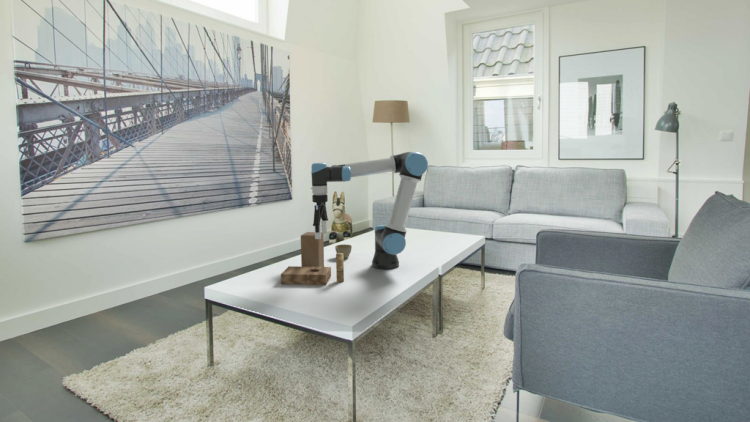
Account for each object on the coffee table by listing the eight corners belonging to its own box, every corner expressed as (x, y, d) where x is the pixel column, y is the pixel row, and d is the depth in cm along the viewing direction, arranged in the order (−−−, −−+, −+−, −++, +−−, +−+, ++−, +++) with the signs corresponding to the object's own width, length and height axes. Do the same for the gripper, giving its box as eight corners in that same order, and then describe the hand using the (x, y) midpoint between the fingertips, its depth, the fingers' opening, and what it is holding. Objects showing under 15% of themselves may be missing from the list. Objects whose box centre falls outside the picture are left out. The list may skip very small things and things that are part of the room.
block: (318, 272, 229) (317, 235, 226) (301, 271, 231) (299, 235, 228) (324, 267, 239) (323, 232, 236) (307, 266, 241) (306, 231, 238)
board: (331, 276, 222) (330, 266, 221) (326, 284, 208) (325, 274, 208) (289, 275, 224) (288, 266, 223) (281, 284, 210) (280, 274, 209)
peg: (344, 280, 215) (343, 252, 213) (343, 282, 212) (342, 254, 210) (337, 280, 216) (336, 252, 214) (335, 282, 212) (335, 254, 210)
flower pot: (335, 256, 264) (335, 244, 263) (351, 255, 265) (351, 244, 264) (335, 260, 254) (335, 248, 253) (352, 259, 255) (352, 247, 254)
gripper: (318, 191, 227) (319, 231, 230) (305, 197, 203) (307, 241, 206) (332, 191, 226) (333, 231, 229) (321, 197, 202) (322, 241, 205)
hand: (321, 236), depth 218 cm, fingers open, 13 cm apart
